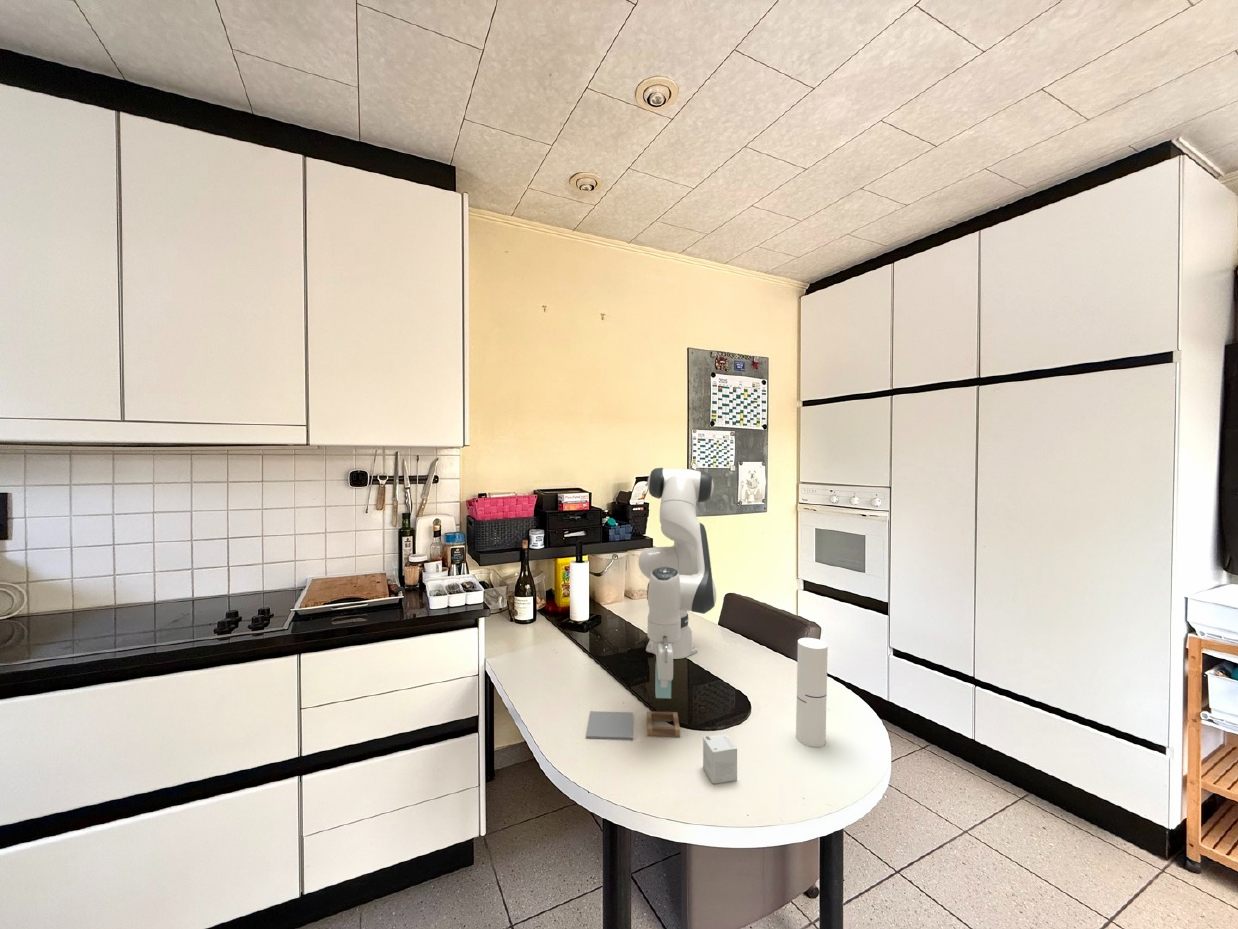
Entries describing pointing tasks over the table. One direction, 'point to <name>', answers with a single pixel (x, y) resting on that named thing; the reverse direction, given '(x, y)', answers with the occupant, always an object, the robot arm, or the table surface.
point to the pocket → (659, 730)
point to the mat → (610, 725)
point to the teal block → (658, 689)
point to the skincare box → (719, 758)
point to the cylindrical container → (811, 692)
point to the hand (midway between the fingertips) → (663, 681)
